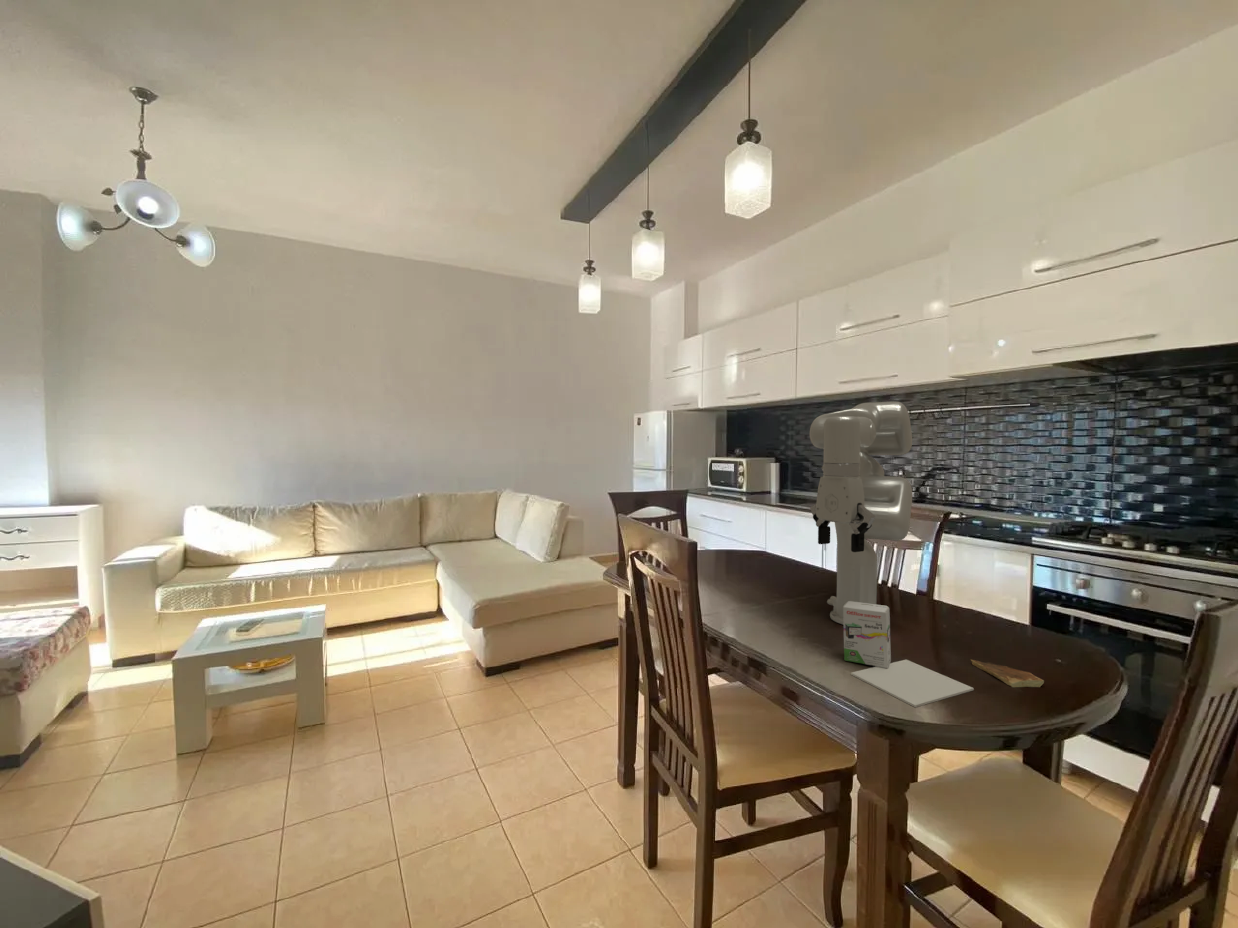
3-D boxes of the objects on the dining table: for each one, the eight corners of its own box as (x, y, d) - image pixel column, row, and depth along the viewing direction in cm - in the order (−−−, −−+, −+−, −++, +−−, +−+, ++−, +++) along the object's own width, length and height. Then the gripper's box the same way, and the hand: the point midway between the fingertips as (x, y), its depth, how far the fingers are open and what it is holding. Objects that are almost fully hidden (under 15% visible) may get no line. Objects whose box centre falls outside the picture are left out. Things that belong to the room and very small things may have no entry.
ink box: (843, 660, 109) (841, 605, 109) (848, 653, 113) (846, 600, 113) (887, 668, 104) (886, 611, 104) (891, 661, 108) (889, 605, 108)
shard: (969, 665, 108) (969, 656, 108) (1004, 664, 108) (1005, 656, 108) (1010, 689, 97) (1010, 680, 97) (1049, 689, 97) (1049, 680, 97)
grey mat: (850, 674, 103) (850, 672, 103) (906, 661, 109) (906, 659, 109) (915, 707, 90) (915, 705, 90) (973, 690, 96) (973, 688, 96)
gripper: (800, 470, 121) (799, 542, 121) (861, 473, 105) (860, 556, 106) (824, 469, 124) (823, 539, 124) (887, 472, 108) (885, 553, 109)
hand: (840, 547), depth 115 cm, fingers open, 9 cm apart
